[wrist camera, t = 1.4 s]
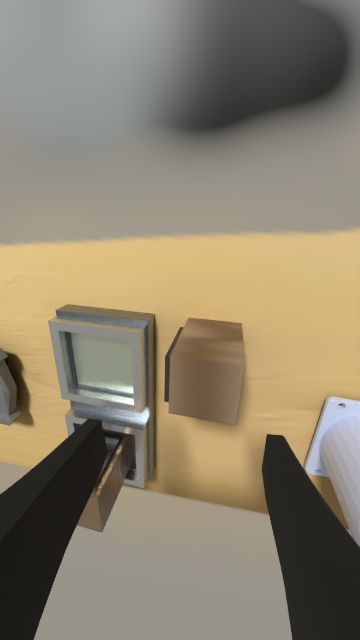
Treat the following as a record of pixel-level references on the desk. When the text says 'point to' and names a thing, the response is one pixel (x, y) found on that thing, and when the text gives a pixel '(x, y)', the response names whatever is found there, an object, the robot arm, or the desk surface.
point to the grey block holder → (109, 393)
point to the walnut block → (205, 370)
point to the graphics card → (7, 393)
